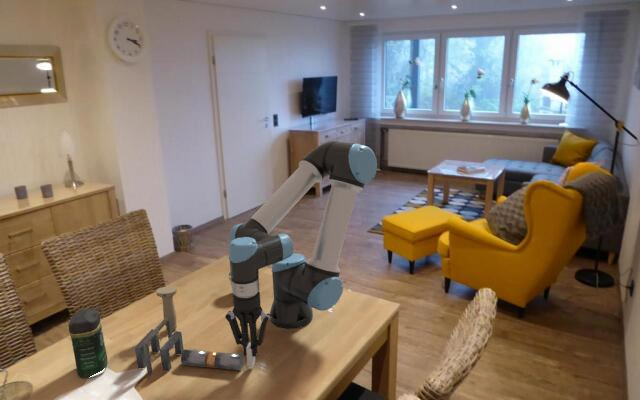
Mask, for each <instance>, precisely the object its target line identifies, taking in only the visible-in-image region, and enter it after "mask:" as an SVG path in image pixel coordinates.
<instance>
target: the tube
mask: <svg viewBox="0 0 640 400" xmlns="http://www.w3.org/2000/svg"><path fill="white" fill-rule="evenodd" d="M244 357H245V356H244V353H243V354H242V353H240V354H239V353H230V352H220V351H218V352H217V351H208V350H197V349H184V351H183V352H182V355H180V364H181V365H182V366H191V367H193V366H194V367H203V368H213V369H223V370H224V369H225V370H232V371H233V370H234V371H241V370H242V369H243V368H244V363H245V358H244Z"/></svg>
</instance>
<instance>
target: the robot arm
mask: <svg viewBox="0 0 640 400" xmlns="http://www.w3.org/2000/svg"><path fill="white" fill-rule="evenodd" d="M377 169H378V160H377V157H376V154H375V153H374V151H373V150H372V148H370V147H369V146H367V145H365V144H364V145H363V144H360V143H352V142H344V141H337V140H331V141H330V140H329V141H326V142H323V143H322V144H320V145H318V146H317V147H315V148H313V149H312V150H311V151H310V152H308V153H307V154H306V155H305V156H304V157H303V158H302V159H301V160H300V161H299V163H298V168H297V169H296V170H295V171H294V172H292V174H291V175H290V176H289V177H288V178H287V179H286V180H285V181H284V182H283V184H282V185H280V187H278V189H277V190H276V191H275V192H273V194H272V195H271V196H270V197H269V198H268V199H267V200H266V201H265V202H264V204H262V205H261V206H260V208H258V210H257V211H255V213H254V214H253V215H252V216H251V217H250V218H249V219H248V220H247V221H246V222H245V223H238V224H235V225H233V227H232V228H230V232H229V235H228V236H229V237H228V239H229V241H230V243H229V245H228V260H229V267H230V271H231V281H232V286H231V291H232V305H233V308H232V310H229V311H228V312H226V314H225V316H224V317H225V319H226V320H227V322H228V323H229V326H230V329H231V332H232V335H233V338H234V341H235V343H236V345H238V346H239V345H241V346H242V351H243V356H244V357H246V361H247V362H246V363H247V368H251V369H252V368H253V367H254V365H255V364H256V356H257V355H258V351H259V350H258V347H261V346H262V344H263V342H264V339H265V334H266V328H267V325H268V324H267V323H268V322H269V321H270V323H271V324H272V325H273V326H275V327H277V328H279V329H285V330H293V329H295V330H296V329H300V328H303V327H305V326H307V325H308V324H309V325H310V324H311V321H312V320H313V317H314V314H313V309H315V310H318V311H328V310H330V309H331V308H333V307H334V306H335V305H337V304H338V302H339V301H340V299H341V297H342V295H343V291H344V285H343V281H342V279H340V278H339V277H340V275H341V274H340V273H341V269H340V267H339V265H338V264H339V263H338V262H339V260H340V256H341V253H342V250H343V249H342V248H343V246H344V242H345V238H346V235H347V232H348V228H349V225H350V221H351V217H352V214H353V209H354V207H355V203H356V199H357V195H358V193H360V192H362V191H363V190H364V189H365V184H369V183H371V182H372V180H373V179H375V176H376V174H377V171H378V170H377ZM326 177H328V181H329V183H330V185H331V187H330V191H329V194H328V197H327V202H326V204H325V205H326V206H325V209H324V212H323V216H322V219H321V224H320V227H319V230H318V233H317V238H316V240H315V241H316V242H315V244H314V248H313V252H312V255H311V257H310V258H309V259H307V258H306V256H305V255H303V254H302V253H294V251H295V250H294V243H293V240H292V239H291V237H290V236H289V235H288V234H287V233H279V234H278V233H277V234H275V235H272V234H270V233H271V232H272V231H273V229H274V228H276V227H277V225H278V224H279V223H281V221H282V220H283V219H284V218H285V217H286V215H287V214H289V212H290V211H291V210H292V209H293V208H294V207H295V206H296V204H298V202H299V201H300V200H301V199H302V198H303V197H304V195H306V193H308V192H309V190H310V189H311V188H312V187H313V186H314V185H315V184H318V183H321V182H322V181H323V179H325V178H326ZM268 266H271V272H272V273H271V274H272V275H271V276H272V286H273V287H272V288H273V290H272V291H273V300H272V304H271V307H270V310H269V313H265V312H264V311H263V307H261V306H262V305H261V293H260V279H259V270H260V269H263V268H265V267H268ZM259 318H260V321H261V324H260V327H259V332H258V330H257V321H258V320H259ZM237 319H238V320H237ZM238 321H239V322H238ZM249 336H250V337H249ZM249 338H250V339H249Z"/></svg>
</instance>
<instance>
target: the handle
mask: <svg viewBox="0 0 640 400" xmlns="http://www.w3.org/2000/svg"><path fill="white" fill-rule="evenodd" d="M177 291H178V290H177V287H175V286H163V287H159V288H157V289H156V291H155V293H156V296H157V297H160V298H161V301H162V313H163V320H164V319H165V318H166V316H170V320H171V328H172V332H175V331H177V330H176V329H177V328H178V327H177V314H176V308H175V302H174V296H175V295H177V293H178V292H177ZM164 326H165V329H166V330H167V326H166V324H165V325H164Z"/></svg>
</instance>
